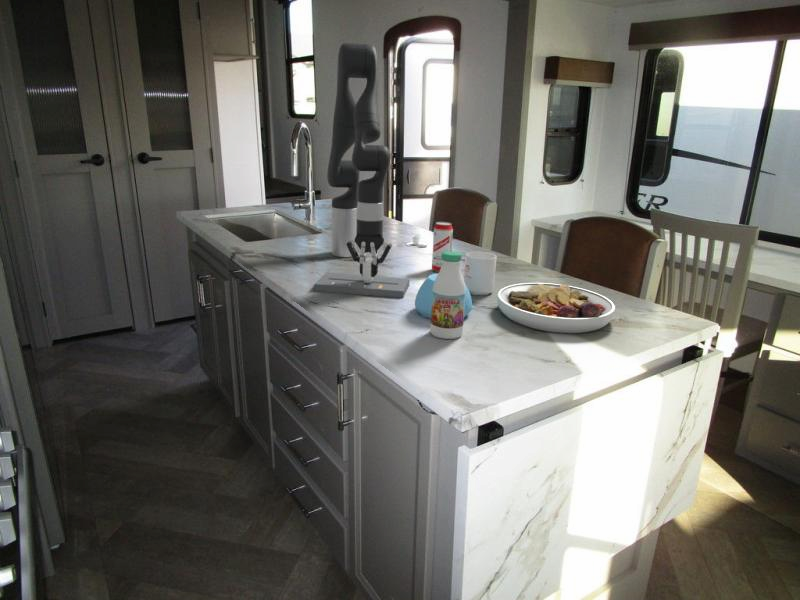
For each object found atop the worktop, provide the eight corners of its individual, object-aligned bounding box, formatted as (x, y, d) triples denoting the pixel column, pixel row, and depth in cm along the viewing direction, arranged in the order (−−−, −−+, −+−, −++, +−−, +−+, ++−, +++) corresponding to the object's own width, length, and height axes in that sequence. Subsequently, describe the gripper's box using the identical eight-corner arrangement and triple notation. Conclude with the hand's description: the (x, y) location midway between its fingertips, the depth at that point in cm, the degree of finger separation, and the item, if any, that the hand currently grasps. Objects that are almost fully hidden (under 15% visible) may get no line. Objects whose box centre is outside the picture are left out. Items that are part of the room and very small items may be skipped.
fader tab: (366, 277, 171) (367, 257, 169) (374, 278, 171) (374, 257, 169) (362, 282, 166) (362, 262, 164) (370, 283, 165) (371, 262, 163)
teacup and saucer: (429, 248, 223) (430, 238, 222) (410, 249, 221) (410, 238, 220) (423, 243, 231) (423, 233, 230) (404, 244, 229) (404, 234, 228)
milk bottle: (428, 327, 140) (432, 248, 134) (459, 328, 141) (465, 248, 134) (432, 340, 133) (437, 256, 126) (465, 340, 133) (471, 256, 127)
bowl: (473, 307, 157) (476, 279, 155) (554, 294, 171) (557, 268, 169) (550, 346, 133) (554, 314, 130) (637, 327, 147) (642, 298, 144)
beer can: (449, 273, 188) (452, 225, 182) (430, 272, 189) (432, 224, 184) (451, 269, 193) (454, 222, 188) (432, 267, 195) (435, 220, 189)
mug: (499, 294, 168) (502, 257, 165) (473, 297, 165) (476, 259, 161) (476, 283, 179) (479, 248, 175) (452, 285, 175) (454, 250, 171)
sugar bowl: (429, 300, 161) (431, 260, 157) (479, 310, 154) (482, 269, 151) (404, 315, 148) (406, 272, 144) (458, 327, 141) (461, 282, 138)
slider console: (326, 278, 177) (326, 271, 176) (409, 285, 174) (409, 278, 173) (314, 290, 165) (314, 283, 164) (403, 298, 162) (403, 290, 161)
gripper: (396, 216, 165) (394, 274, 171) (349, 213, 167) (348, 270, 172) (391, 221, 158) (389, 281, 163) (342, 218, 160) (342, 277, 165)
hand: (368, 275), depth 168 cm, fingers closed on fader tab, 2 cm apart
